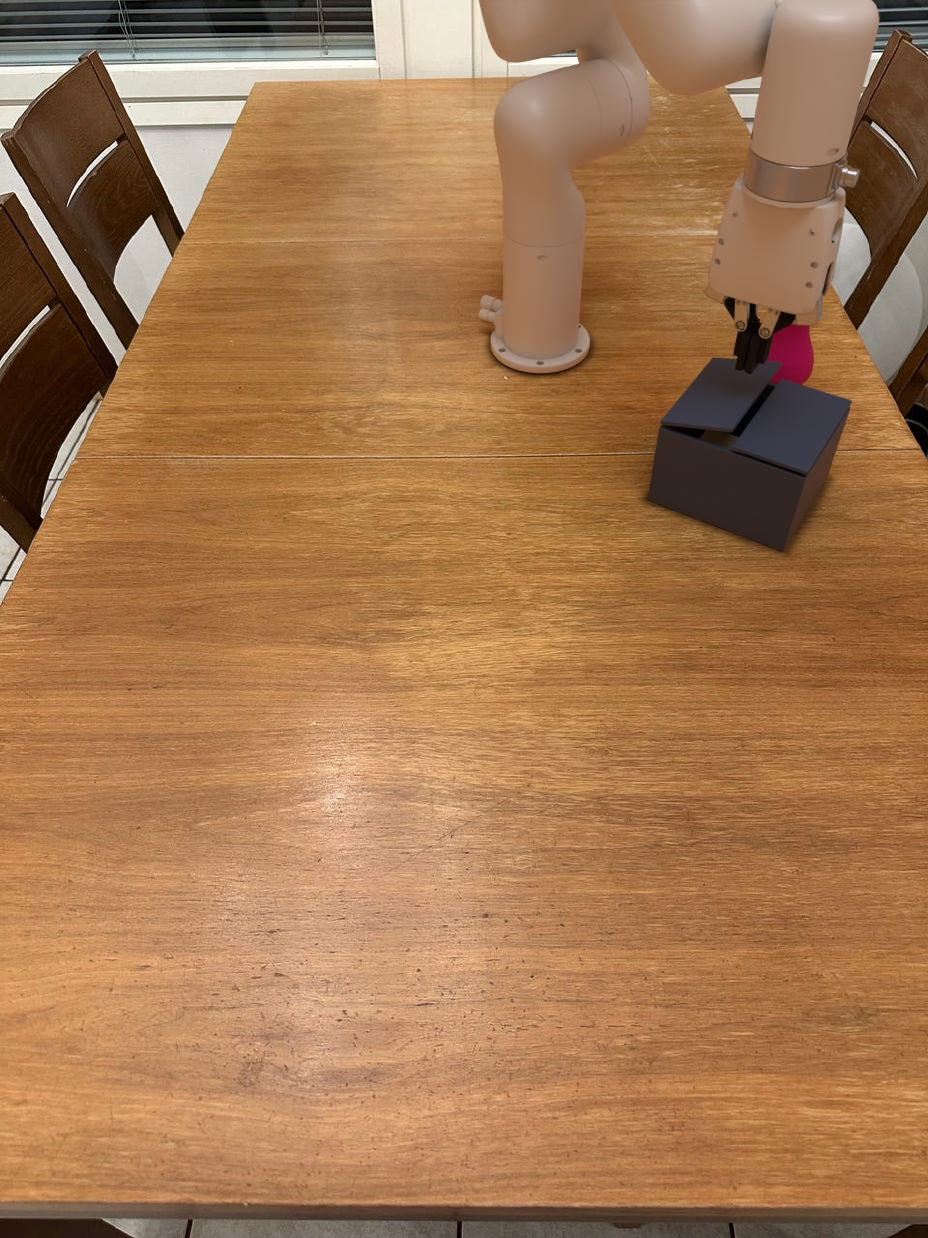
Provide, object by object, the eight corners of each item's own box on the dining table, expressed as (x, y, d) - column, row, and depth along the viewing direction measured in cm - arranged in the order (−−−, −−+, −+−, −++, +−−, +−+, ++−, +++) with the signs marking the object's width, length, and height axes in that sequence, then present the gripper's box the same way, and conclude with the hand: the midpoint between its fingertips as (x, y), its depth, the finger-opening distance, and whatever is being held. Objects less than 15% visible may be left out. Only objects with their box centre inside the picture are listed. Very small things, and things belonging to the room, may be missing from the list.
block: (685, 481, 102) (691, 448, 99) (701, 458, 104) (708, 426, 101) (723, 495, 100) (731, 462, 97) (739, 472, 103) (747, 439, 99)
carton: (647, 500, 101) (659, 421, 93) (697, 435, 108) (712, 356, 100) (782, 551, 95) (807, 472, 87) (826, 479, 102) (853, 400, 94)
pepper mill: (804, 416, 110) (853, 252, 95) (740, 410, 111) (778, 247, 96) (802, 381, 114) (848, 219, 99) (741, 375, 115) (777, 214, 100)
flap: (660, 424, 93) (660, 421, 93) (713, 360, 100) (712, 356, 100) (731, 432, 89) (731, 428, 89) (781, 365, 96) (781, 361, 96)
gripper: (898, 172, 76) (838, 368, 90) (723, 136, 82) (692, 325, 96) (869, 210, 72) (810, 409, 86) (687, 169, 78) (660, 362, 92)
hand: (748, 364), depth 91 cm, fingers closed
